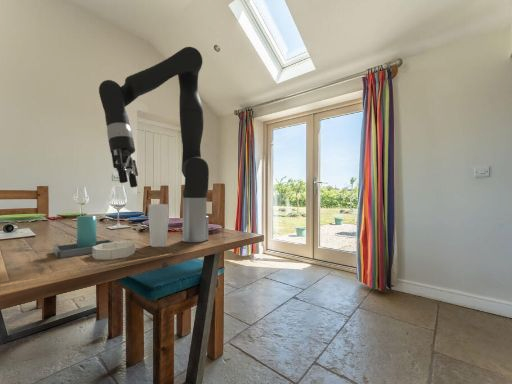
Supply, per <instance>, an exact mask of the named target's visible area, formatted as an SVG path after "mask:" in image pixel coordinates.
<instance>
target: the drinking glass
mask: <svg viewBox="0 0 512 384" xmlns="http://www.w3.org/2000/svg"><path fill="white" fill-rule="evenodd" d="M147 210H148V212H147V213H148V215H147V217H148V224H149V225H148V227H149V229H148V230H149V241H150V243H149V244H150V247H153V248H157V247H158V248H160V247H162V248H165V247H166V246H167V243H168V242H167V241H168V238H167V237H168V229H169V218H170V217H169V216H170V204H168V203H152V204H150V203H149V204H148V209H147Z"/></svg>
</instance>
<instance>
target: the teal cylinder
mask: <svg viewBox="0 0 512 384" xmlns="http://www.w3.org/2000/svg"><path fill="white" fill-rule="evenodd" d="M97 219H98V215H95V214H94V215H91V214H90V215H78V216H76V243H77V249H78V248H86V247H93V246H96V245H97V241H98V236H97V235H98V234H97V233H98V220H97Z"/></svg>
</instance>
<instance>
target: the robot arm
mask: <svg viewBox="0 0 512 384" xmlns="http://www.w3.org/2000/svg"><path fill="white" fill-rule="evenodd" d="M202 67H203V55H202V53H201V52H200V51H199V49H197V48H195V47H193V46H186V47H184V48H181V49H180V50H179V51H177V52H176V53H174V54H172V55H171V56H169V57H168V58H166V59H164V60H162V61H160V62H158V63H157V64H154V65H152V66H150V67H148V68H146V69H143V70H140V71H138V72H136V73H133V74H131V75H129V76H127V77H126V78H125V80H124V84H123V85H120V84H119V83H117V82H116V81H114V80H112V79H106V80H103V81H102V82H101V83H100V84H99V87H98V93H99V97H100V101H101V105H102V107H103V111H104V117H105V125H106V131H107V132H106V135H107V141H108V145H109V151H110V154H111V160H112V166H113V169H116V172H117V175H118V180H119V183H120V184H124V183H127V182H129V187H131V188H137V187H138V181H137V176H139V173H138V172H139V171H138V168H137V163H136V160H135V159H133V157H132V156H131V155H132V154H134V153H135V152H136V148H135V142H134V137H133V132H132V129H131V125H130V119H129V116H128V113H127V110H126V108H125V107H128V106H129V105H130V104H131V103H133V102H134V101H136V99H137V98H139V97H140V96H143V95H145V94H147V93H150V92H152V91H154V90H156V89H158V88H160V87H161V86H162V85H163V84H164V83H166V82H168V81H169V80H170V79H172V78H174V77H176V76H177V77H178V84H179V101H178V103H179V106H178V107H179V125H180V126H179V127H180V135H181V144H182V146H181V147H182V152H181V153H182V154H181V155H182V158H181V173H182V176H183V177H184V187H183V190H182V242H184V243H200V242H205V241H207V240H209V216H208V215H207V199H208V198H207V195H208V190H209V180H210V179H209V177H210V175H209V174H210V170H209V164H208V163H207V161H206V160H205V159H204V158H202V155H201V154H202V153H201V143H202V137H203V132H204V121H205V120H204V110H203V103H202V102H201V101H202V100H201V98H200V95H199V73H200V71H201V69H202ZM128 180H129V181H128Z"/></svg>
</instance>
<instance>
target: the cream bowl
mask: <svg viewBox="0 0 512 384" xmlns="http://www.w3.org/2000/svg"><path fill="white" fill-rule="evenodd" d="M135 253H136V243H134V242H131V241H114V242H111V243H103V244H99V245H96V246H93V247H92V254H91V256H92V258H93V259H94V260H117V259H123V258H127V257H130V256H132V255H134V254H135Z"/></svg>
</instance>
